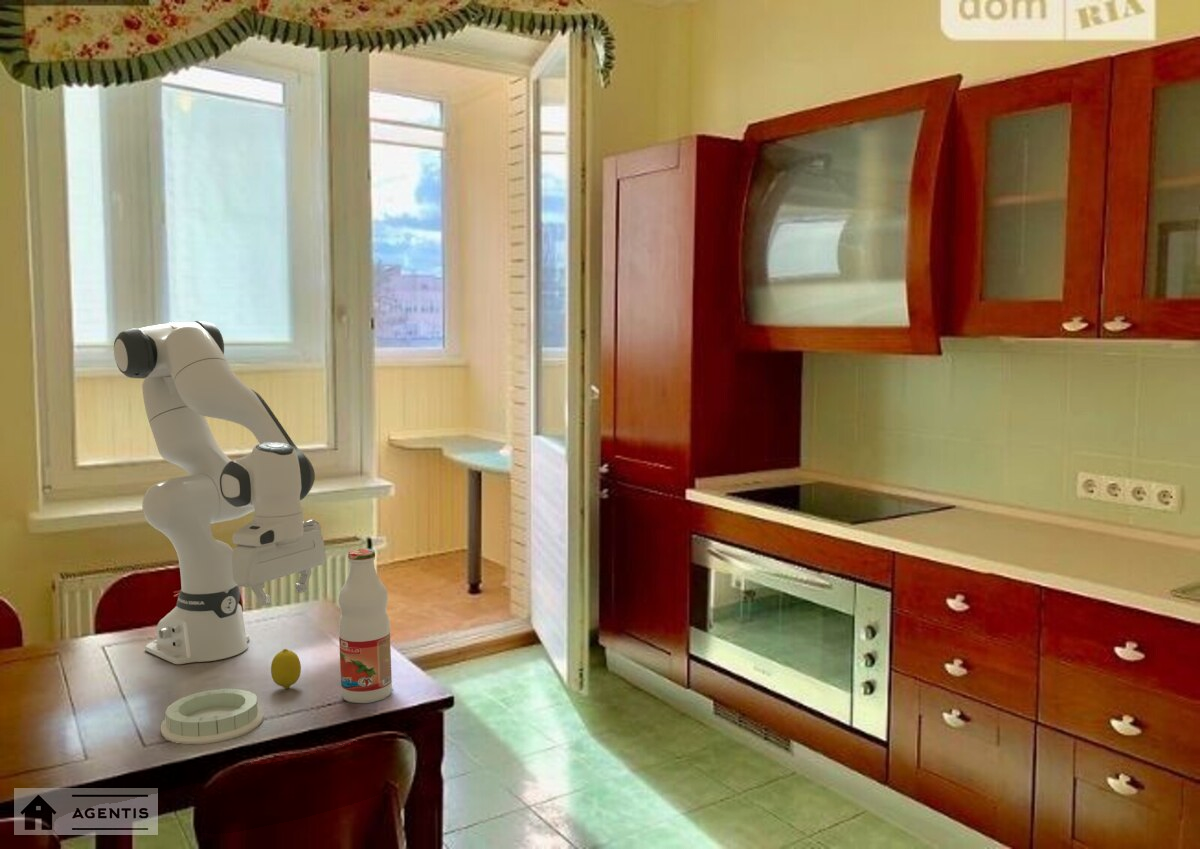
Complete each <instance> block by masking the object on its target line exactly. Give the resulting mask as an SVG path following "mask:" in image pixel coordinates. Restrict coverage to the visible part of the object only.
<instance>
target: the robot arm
mask: <svg viewBox="0 0 1200 849" xmlns="http://www.w3.org/2000/svg"><path fill="white" fill-rule="evenodd" d="M113 357H114V360H115V361H114V362H115V364H116V365H117V368H118V370H119V371H120V372H121V373H122V374H123V375H124V376H126V377H127V378H131V379H143V381H142V386H141V388H142V396H143V402H144V403H143V404H144V409H145V413H146V416H147V420H148V423H149V426H150V430H151V432H152V435H153V438H154V441H155V444H156V447H157V450H158V452H159V455H160V457H162V459H163V460H165V461H167V462H168V463H170V464H173V465H175V466H178V467H179V468H182V470H184V471H185V472H187V474H188V475H185V476H178V477H171V478H169V479H166V480H163V481H160V482H157V483H154V484H152V485H150V486H149V487H148V488H147V490H146V491H145V494H144V496H143V499H142V505H141V506H142V512H143V516H144V519H145V520H146V521H147V522H148V524H149V525H150V526H151V527H153V528H154V529H155V530H157V531H159V532H161V533H162V534H163V535H164V536H165V537H167V538H168V539H169V541H170V542H171V543H172V546H173V547H174V549H175V551H176V554H177V558H178V567H179V572H180V585H181V587H180V588H181V589H180V590H176V591H173V593H174V595H173V597H174V598H175V597H176V598H177V601H176V605H175V607H174V608H173V609H172V610H170V612H168V613H167V614H166V615H165V616H164V617H163V618H161V619H160V620H159V621H158V623H157V628H156V639H155V640H152V641H151V642H149V643H147V644H146V645H145V651H146V652H148V653H150V654H152V655H154V656H156V657H159V658H161V659H163V660H165V661H167V662H170V663H172V664H174V665H184V664H189V663H201V662H203V663H204V662H213V661H218V660H219V661H220V660H223V659H228V658H231V657H234V656H237V655H239V654H241V653H244V652H245V651H246V650H247V649H248V648H249V644H248V641H249V640H250V635H249V633H247V631H246V625H245V618H244V612H243V607H242V605H241V604H240V603H239V602H240V599H241V598H240V594H241V593H240V587H241V588H242V587H243V588H250V589H251V590H252V592H253V593H254V595H255V596H256V602H257V603H256V604H257V605H258V606H260V607H264V606H266V605H269V604H270V602H271V601H270V598H271V597H270V594H266V593H265V591H264V590H263V589H265V586H266V584H265V583H268V582H270V581H273V580H277V579H280V578H284V577H287V576H291V575H294V574H297V573H298V574H299V577H298V582H297V583H295V584H294V585H295V586H294V587H295V592H296V593H297V594H303V593H307V591H308V583H309V580H310V578H311V575H312V568H317V567H319V566H323V565H324V563H325V561H326V557H327V556H326V549H325V542H324V538H323V534H322V526H321V524H320V523H319V522H318V521H317V520H316V519H309V520H307V521H306V520H305V521H304V515H303V514H304V513H303V510H304V509H303V506H302V503H301V501H302V500H304V499H305V498H306V496H307V495H308V494H309V493H310V491H312V487H313V486H314V484H315V480H316V475H315V474H316V473H315V468H314V466H313V465H312V463H311V461H310V460H309V458H308V456H307V455H305V454H304V453H303V451H301V450H300V448H298V447H297V446H296V444H295V443H294V442H293V440H292V438H291V437H290V436H289V434H288V433H287V431H286V430H285V428H284V427H283V425H282V423H281V422H280V421H279V419H278V418H277V416H276V415H275V414H274V412H273V411H272V409H271V407H270V406H269V405H268V404H267V402H266V401H265V400H264V398H263V397H262V396H261V395H260V394H259V393H258V392H257V391H255V390H253V389H252V388H250V387H248V386H247V385H246V384H245V383H244V382H243V381H241V379H240V378H239V377H238V376H237V375H236V373H235V372H234V371H233V370H232V368H231V366H230V365H229V362H228V360H227V358H226V356H225V342H224V338H223V335H222V333H221V331H220V330H219V328H218V327H217V326H216V325H215V324H214V323H211V322H207V321H200V320H195V321H193V322H192V321H191V322H188V321H187V322H186V321H184V322H183V321H180V322H179V321H178V322H177V321H175V322H174V321H173V322H166V323H163V324H162V323H161V324H155V325H149V326H144V327H140V328H138V327H132V328H129V329H128V328H127V329H125V330H123V331H121V332H119V333H118V334H117V336H116V338H115V340H114V343H113ZM206 417H208V418H211V419H212V418H213V419H218V420H223V421H227V422H231V423H235V424H238V425H240V426H242V427H244V428H246V429H247V430H249V431H250V432H251V433H252V434H253V436H254V438H255V439H256V440H257V442H258V444H256V445H255V446H254V447H253V449H252V451H251V452H250V453H248V454H247V455H244V456H242V457H240V458H237V459H234V460H232V459H231V458H230V457H228V455H227V454H226V453H225V452H224V451H223V450H222V448H220V446H219V445H218V443H217V441H216V440H215V438H214V435H213V433H212V431H211V429H210V425H209V424H208V420H207V418H206ZM252 512H254V513H253V518H254V519H252V520H250V521H249V522H248V523H247V524H246V525H244V526H243V527H240V528H239V529H238V530H236V531H235V532H233V534H232V536H231V538H232V539H231V540H232V543H233V544H234V545H236V546H235V547H234V548H232V546H230V544H228V543H226V542H224V541H222V540H219V539H217V538H215V537H214V536H213V533H212V528H211V525H212V524H216V523H217V524H218V523H222V522H226V521H233V520H237V519H240V518H242V517H245V516H246V515H248V514H251V513H252ZM175 593H177V594H175Z"/></svg>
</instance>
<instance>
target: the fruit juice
mask: <svg viewBox="0 0 1200 849" xmlns="http://www.w3.org/2000/svg"><path fill="white" fill-rule="evenodd" d="M347 553H348V556H347V558H348V562H349V564H350V565H349V570H348V573H347V578H346V580H345V583H343V585H342V587H341V589H340V590H339V593H338V606H339V609H340V612H341V616H340V619H339V622H338V640H339V642H338V643H339V662H340V663H339V664H340V665H339V667H340V684H341V685H340V688H341V690H340V691H341V696H342V698H343V699H344V700H345V701H346V702H349V703H354V704H368V703H374V702H375V703H376V702H378V701H381V700H384V699H386V698H387V697H388V696H390V695H391V692H392V688H393V683H392V682H393V681H392V680H393V679H392V678H393V677H392V658H391V657H392V655H391V653H392V650H391V626H390V619H389V615H388V613H387V606H388V601H389V594H388V590H387V587H386V586H385V584H384V583H383V582H382V581H381V580H380V579H379V576H378V573H377V571H376V568H375V562H374V560H375V559H376V551H375V550H374V549H372V548H357V549H351V550H350V551H348V552H347Z"/></svg>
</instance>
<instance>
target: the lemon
mask: <svg viewBox="0 0 1200 849" xmlns="http://www.w3.org/2000/svg"><path fill="white" fill-rule="evenodd" d="M301 672H302V666H301V660H300V657H299V656H298V654H296V652H294V651H292V650H290V649H287V648H283V649H282V650H281V651H279V652H277V653H276V654H275V655H274V657H273V658H272V661H271V665H270V673H271V679H272V681H273V682H274V683H275V684H276V685H277V686H279V687H282V688H284V690H288V689H289V688H290V687H291V686H294V685H295V684H296V683H297V682H298V680H299V679H300V676H301Z"/></svg>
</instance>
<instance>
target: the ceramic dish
mask: <svg viewBox="0 0 1200 849" xmlns="http://www.w3.org/2000/svg"><path fill="white" fill-rule="evenodd" d="M258 701H259V700H258V696H257V695H256V694H255V693H254V692H253V691H249V690H245V689H240V688H220V689H217V688H216V689H210V690H204V691H200V692H197V693H196V692H195V693H192V694H189V695H186V696H184V697H181V698H178V699H177V700H175V701H174V702H173V703H170V705H168V706H167V707H166V710H165V713H164V714H165V715H164V716H165V719H164V720H163V721H162V722H161V724H160V734H162V735H161V736H163V737H164V738H166V739H167V740H166V739H165V740H166V741H168V740H170V741H172V742H171V743H173V742H178V743H184V744H183V745H187V744H196V745H197V744H198V745H208V744H215V743H219V742H224V741H229V740H232V739H235V738H238V737H241V736H243V735H246V734H248V733H250V732H252V731H254V730H255V729H257V728H258V727H259V726H260V725H261V724H262V723H263V721H264V719H265V717H264V716H265V714H264V711H265V710H264V709H263V707H262V706H261V705H260V704H259V702H258ZM163 737H162V738H163ZM164 738H163V739H164ZM170 741H169V742H170ZM178 743H177V744H178Z"/></svg>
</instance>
